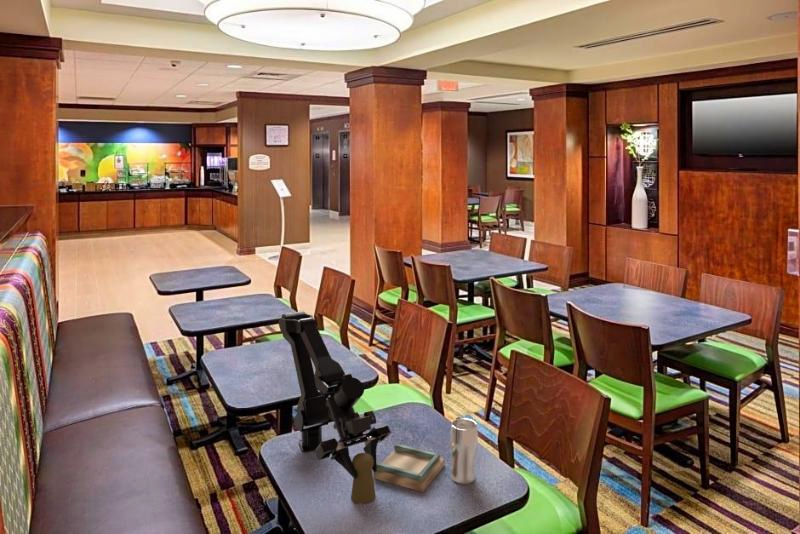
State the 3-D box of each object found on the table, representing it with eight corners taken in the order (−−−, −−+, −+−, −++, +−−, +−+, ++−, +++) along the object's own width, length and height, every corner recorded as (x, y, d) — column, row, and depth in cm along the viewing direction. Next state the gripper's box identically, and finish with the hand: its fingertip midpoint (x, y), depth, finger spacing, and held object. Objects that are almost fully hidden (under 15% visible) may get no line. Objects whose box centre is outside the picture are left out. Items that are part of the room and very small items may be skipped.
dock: (373, 478, 153) (373, 465, 153) (397, 453, 166) (397, 441, 165) (423, 492, 147) (423, 479, 147) (444, 465, 160) (444, 453, 159)
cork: (372, 505, 142) (372, 463, 140) (347, 502, 143) (347, 460, 141) (378, 491, 148) (378, 450, 145) (354, 488, 149) (354, 448, 147)
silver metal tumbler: (461, 467, 159) (462, 415, 156) (482, 477, 154) (483, 424, 151) (443, 477, 154) (444, 424, 151) (464, 488, 149) (466, 433, 146)
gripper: (319, 411, 139) (341, 475, 132) (387, 393, 149) (411, 453, 142) (306, 428, 147) (326, 490, 140) (371, 411, 157) (394, 468, 150)
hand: (365, 475), depth 143 cm, fingers closed on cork, 5 cm apart
